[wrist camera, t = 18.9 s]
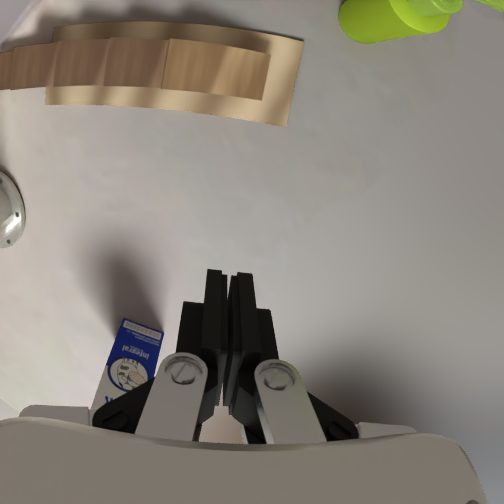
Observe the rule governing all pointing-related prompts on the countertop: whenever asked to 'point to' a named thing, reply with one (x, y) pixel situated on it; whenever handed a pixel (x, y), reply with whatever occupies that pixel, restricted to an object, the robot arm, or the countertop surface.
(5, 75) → the domino
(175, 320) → the countertop surface
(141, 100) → the runner
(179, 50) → the domino
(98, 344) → the countertop surface
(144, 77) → the domino
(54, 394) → the countertop surface
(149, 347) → the milk carton
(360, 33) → the soap dispenser
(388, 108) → the countertop surface
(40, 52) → the domino
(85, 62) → the domino
